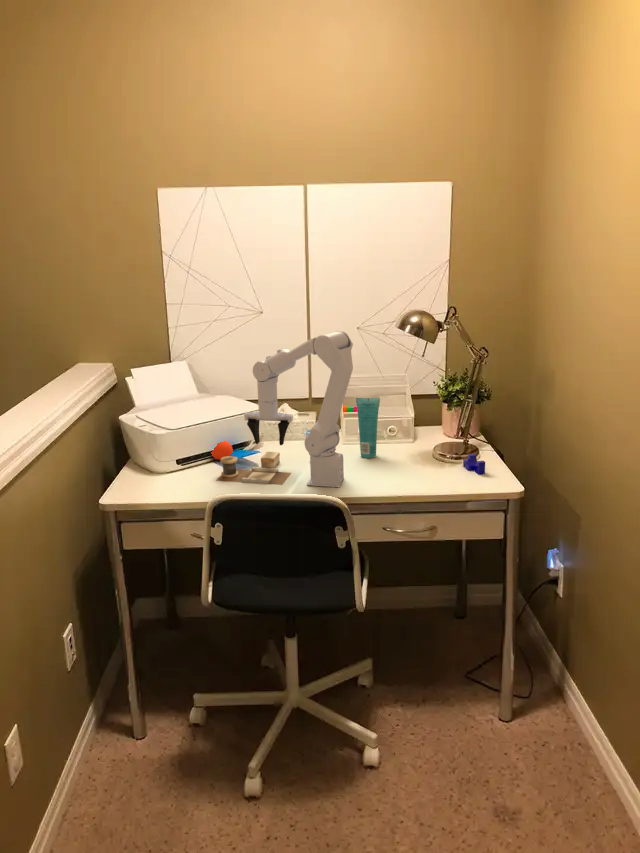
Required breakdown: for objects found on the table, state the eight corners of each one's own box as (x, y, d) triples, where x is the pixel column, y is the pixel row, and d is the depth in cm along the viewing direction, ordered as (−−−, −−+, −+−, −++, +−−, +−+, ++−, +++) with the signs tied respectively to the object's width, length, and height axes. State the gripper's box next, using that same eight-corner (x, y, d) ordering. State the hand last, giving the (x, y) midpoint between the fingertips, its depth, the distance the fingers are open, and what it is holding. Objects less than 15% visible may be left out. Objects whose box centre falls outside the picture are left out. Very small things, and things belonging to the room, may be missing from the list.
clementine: (214, 467, 228) (213, 445, 226) (204, 461, 233) (203, 440, 231) (237, 461, 232) (236, 440, 230) (226, 456, 238) (225, 435, 236)
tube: (379, 453, 237) (379, 395, 232) (380, 458, 233) (380, 399, 227) (356, 454, 237) (355, 396, 232) (356, 458, 232) (356, 400, 227)
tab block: (280, 467, 227) (279, 452, 225) (274, 474, 221) (273, 458, 220) (267, 466, 228) (266, 451, 226) (261, 473, 222) (260, 457, 220)
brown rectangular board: (291, 477, 218) (291, 469, 217) (282, 489, 208) (282, 481, 208) (228, 473, 222) (227, 465, 222) (216, 485, 213) (215, 477, 212)
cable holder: (463, 467, 224) (463, 454, 223) (473, 466, 224) (474, 453, 223) (473, 476, 216) (474, 463, 215) (484, 474, 217) (485, 462, 216)
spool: (240, 472, 218) (239, 456, 217) (235, 478, 214) (234, 462, 212) (224, 471, 220) (223, 455, 218) (218, 477, 215) (217, 461, 213)
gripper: (294, 397, 220) (296, 440, 224) (248, 395, 223) (250, 438, 227) (288, 403, 213) (290, 448, 217) (241, 401, 217) (243, 445, 221)
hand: (269, 443), depth 222 cm, fingers open, 7 cm apart
